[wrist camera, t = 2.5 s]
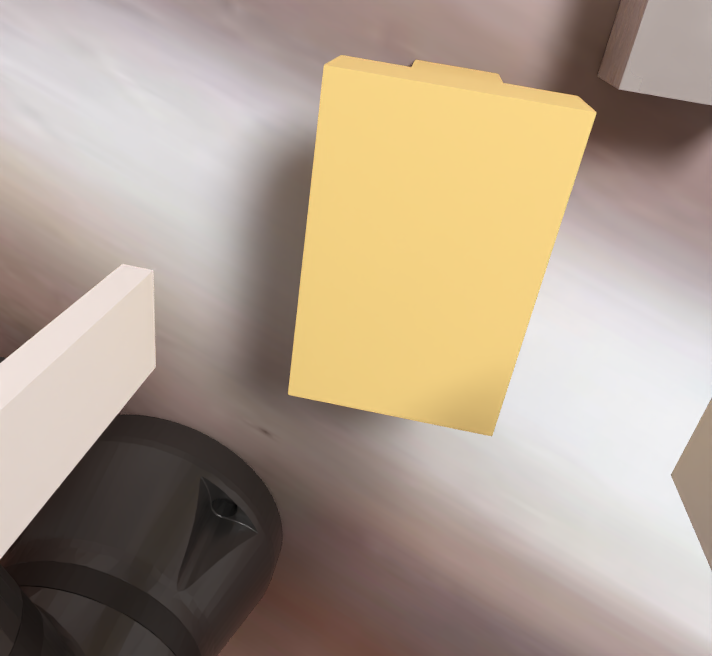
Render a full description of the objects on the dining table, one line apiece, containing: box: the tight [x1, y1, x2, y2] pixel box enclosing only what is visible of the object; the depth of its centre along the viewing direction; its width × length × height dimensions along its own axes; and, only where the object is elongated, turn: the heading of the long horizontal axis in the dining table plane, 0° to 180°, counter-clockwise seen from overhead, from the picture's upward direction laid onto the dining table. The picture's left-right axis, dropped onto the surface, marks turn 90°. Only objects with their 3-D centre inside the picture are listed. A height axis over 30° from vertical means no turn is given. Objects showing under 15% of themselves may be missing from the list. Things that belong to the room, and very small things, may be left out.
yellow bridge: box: [288, 55, 597, 436], centre depth 23 cm, size 8×11×8 cm, turn 172°
